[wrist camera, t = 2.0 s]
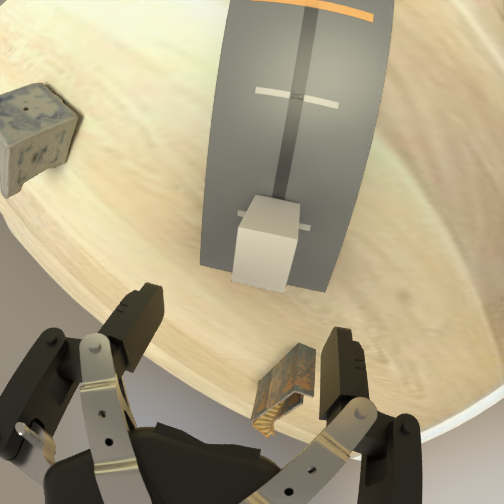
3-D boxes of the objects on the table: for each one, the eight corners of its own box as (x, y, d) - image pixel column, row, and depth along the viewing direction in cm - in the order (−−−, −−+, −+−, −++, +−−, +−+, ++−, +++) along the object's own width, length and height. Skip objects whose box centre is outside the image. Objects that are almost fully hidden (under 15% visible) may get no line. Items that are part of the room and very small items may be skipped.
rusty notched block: (276, 385, 40) (267, 439, 31) (259, 379, 40) (247, 433, 31) (318, 348, 34) (316, 412, 26) (299, 340, 34) (292, 405, 25)
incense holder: (27, 133, 25) (-32, 156, 16) (47, 79, 21) (-20, 91, 12) (64, 172, 27) (1, 205, 18) (87, 115, 23) (12, 135, 14)
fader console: (323, 274, 28) (325, 292, 25) (209, 249, 28) (199, 265, 26) (387, -31, 11) (395, -44, 8) (253, -55, 12) (246, -69, 9)
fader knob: (289, 248, 23) (283, 293, 18) (248, 239, 23) (231, 281, 18) (300, 203, 21) (297, 239, 16) (255, 194, 21) (238, 226, 16)
